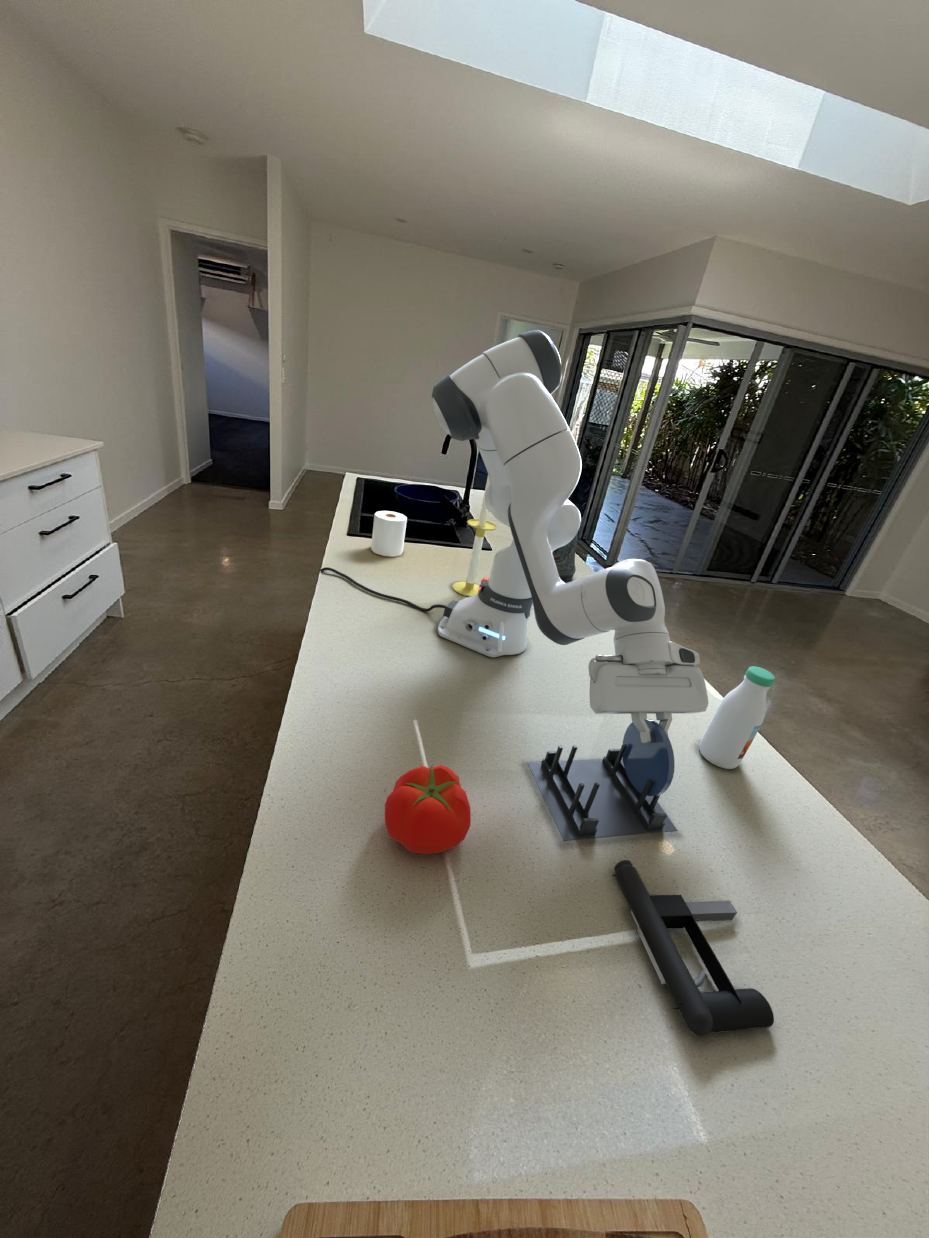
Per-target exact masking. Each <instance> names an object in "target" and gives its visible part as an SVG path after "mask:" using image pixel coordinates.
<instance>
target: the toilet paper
mask: <svg viewBox="0 0 929 1238" xmlns="http://www.w3.org/2000/svg"><path fill="white" fill-rule="evenodd" d="M407 523H408V517H407V516H406V515H405V514H403V513H400V512H396V511H393V510H391V511H390V510H378V511H376V512H375V513H374V516H373V523H372V524H373V527H372V535H371V544H370V545H371V546H370V551H372V552H373V553H374V554H375V555H376V554H377V555H379V556H383V557H391V558H392V557H393V558H395V557H399V556H402V555H403V552H404V545H405V544H404V543H405V537H406V528H407Z"/></svg>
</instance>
